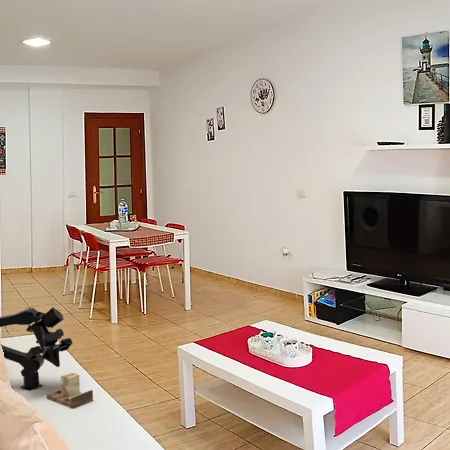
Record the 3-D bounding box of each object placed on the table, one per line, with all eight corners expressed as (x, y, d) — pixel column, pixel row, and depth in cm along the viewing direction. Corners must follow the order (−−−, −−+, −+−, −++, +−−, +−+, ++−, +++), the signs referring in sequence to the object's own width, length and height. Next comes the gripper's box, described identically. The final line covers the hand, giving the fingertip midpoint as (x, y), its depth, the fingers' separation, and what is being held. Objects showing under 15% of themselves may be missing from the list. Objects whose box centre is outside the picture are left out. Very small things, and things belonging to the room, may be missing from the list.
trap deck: (46, 398, 229) (46, 388, 229) (66, 391, 237) (66, 381, 236) (73, 408, 219) (72, 398, 219) (92, 400, 227) (92, 390, 226)
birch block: (61, 393, 230) (60, 375, 229) (71, 390, 234) (71, 372, 233) (69, 396, 227) (68, 378, 226) (79, 392, 231) (79, 374, 230)
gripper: (29, 328, 227) (45, 361, 221) (69, 318, 241) (86, 349, 235) (19, 344, 233) (35, 376, 227) (59, 333, 247) (75, 364, 241)
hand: (58, 366), depth 232 cm, fingers closed
